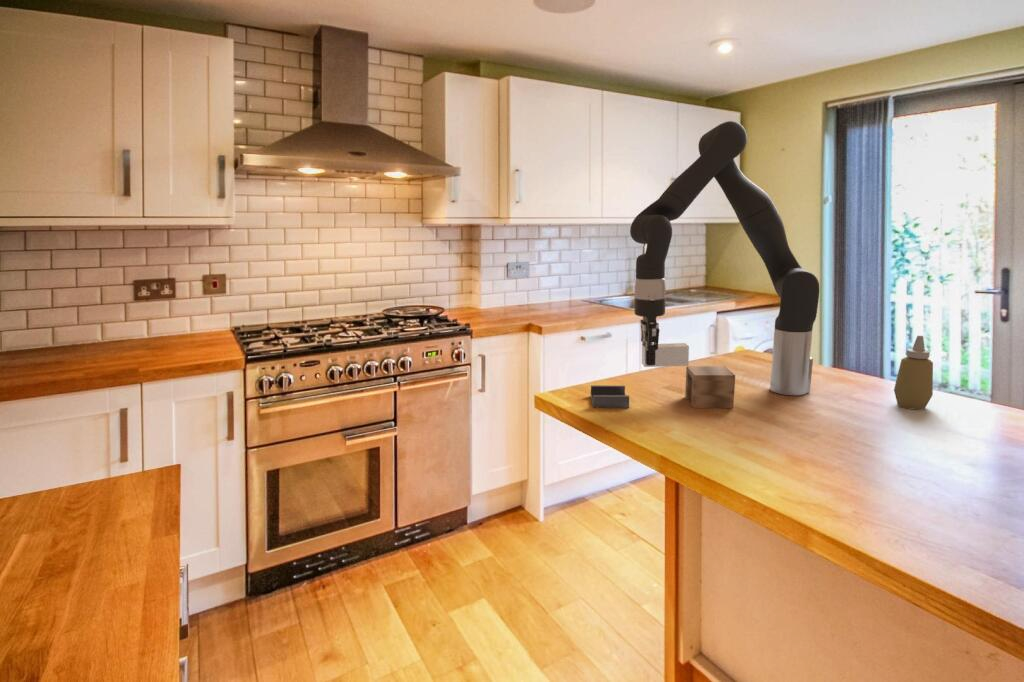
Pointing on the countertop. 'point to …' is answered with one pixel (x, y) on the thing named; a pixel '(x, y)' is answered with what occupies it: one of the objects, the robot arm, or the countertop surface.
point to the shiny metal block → (668, 355)
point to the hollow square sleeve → (710, 386)
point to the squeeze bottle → (915, 378)
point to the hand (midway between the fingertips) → (649, 362)
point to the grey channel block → (609, 396)
